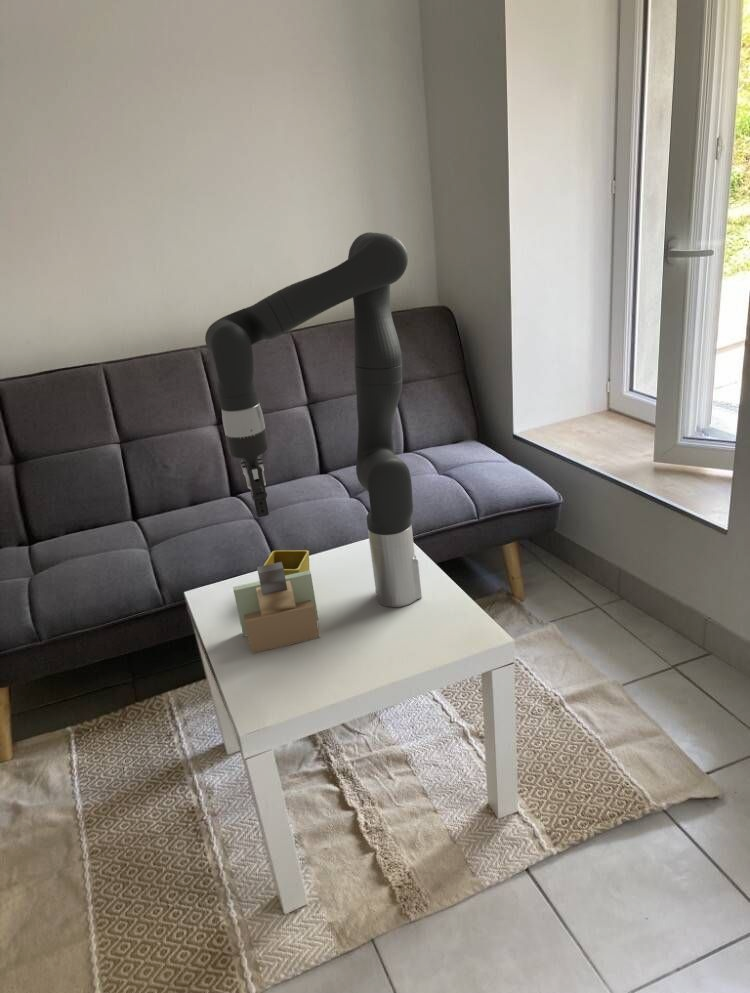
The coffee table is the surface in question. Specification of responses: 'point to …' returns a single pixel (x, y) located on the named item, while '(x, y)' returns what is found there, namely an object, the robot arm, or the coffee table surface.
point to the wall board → (278, 615)
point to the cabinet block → (274, 590)
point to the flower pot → (290, 560)
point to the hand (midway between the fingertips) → (260, 507)
